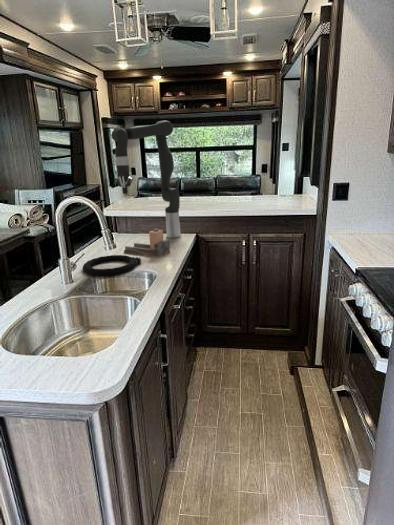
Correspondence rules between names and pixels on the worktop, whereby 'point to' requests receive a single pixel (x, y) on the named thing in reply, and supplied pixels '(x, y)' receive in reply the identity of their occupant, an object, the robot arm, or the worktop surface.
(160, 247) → the channel board
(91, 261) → the cable lock
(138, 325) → the worktop surface
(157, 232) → the block
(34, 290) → the worktop surface
